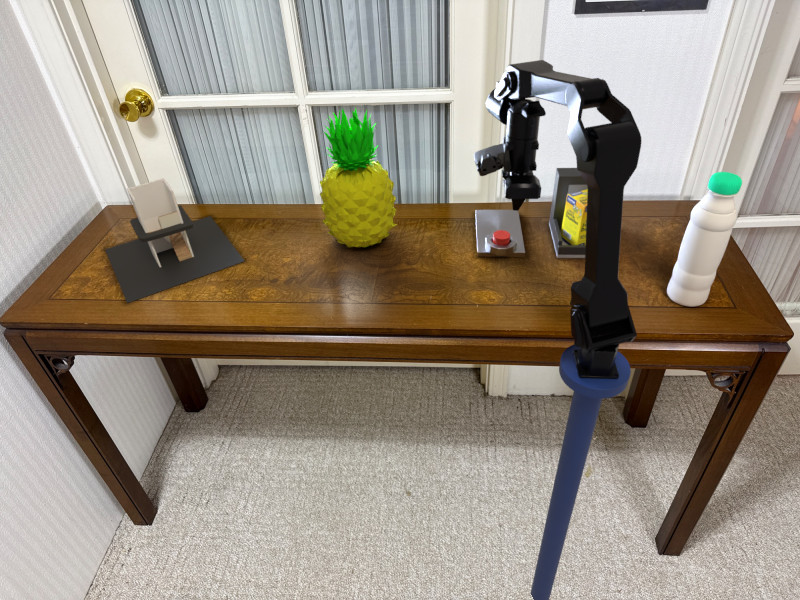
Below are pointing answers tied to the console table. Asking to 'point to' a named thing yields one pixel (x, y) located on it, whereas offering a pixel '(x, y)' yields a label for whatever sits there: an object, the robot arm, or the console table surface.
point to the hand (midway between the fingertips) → (515, 209)
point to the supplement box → (575, 218)
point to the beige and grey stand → (167, 245)
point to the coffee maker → (564, 184)
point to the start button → (501, 238)
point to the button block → (494, 222)
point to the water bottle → (705, 241)
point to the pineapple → (356, 185)
